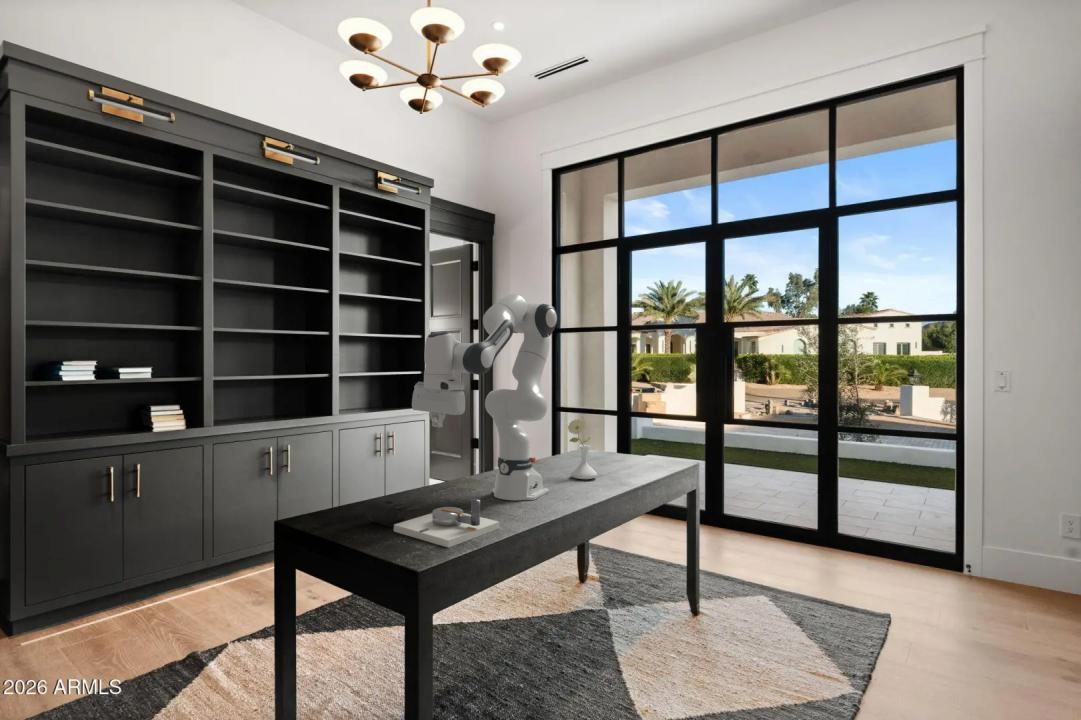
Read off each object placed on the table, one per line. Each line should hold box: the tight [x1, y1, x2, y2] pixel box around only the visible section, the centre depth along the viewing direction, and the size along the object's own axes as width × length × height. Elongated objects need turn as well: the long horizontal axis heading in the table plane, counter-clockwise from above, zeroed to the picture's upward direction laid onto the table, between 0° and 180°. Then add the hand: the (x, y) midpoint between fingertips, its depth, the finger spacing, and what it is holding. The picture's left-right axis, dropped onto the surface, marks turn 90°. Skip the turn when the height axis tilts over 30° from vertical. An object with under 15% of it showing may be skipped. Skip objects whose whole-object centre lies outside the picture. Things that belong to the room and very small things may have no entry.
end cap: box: [366, 499, 406, 529], centre depth 181 cm, size 10×7×7 cm
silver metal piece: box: [431, 498, 481, 526], centre depth 175 cm, size 16×9×8 cm, turn 61°
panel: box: [393, 512, 500, 549], centre depth 177 cm, size 22×22×2 cm
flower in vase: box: [567, 418, 598, 480], centre depth 250 cm, size 13×11×25 cm
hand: (437, 426), depth 187 cm, fingers closed
